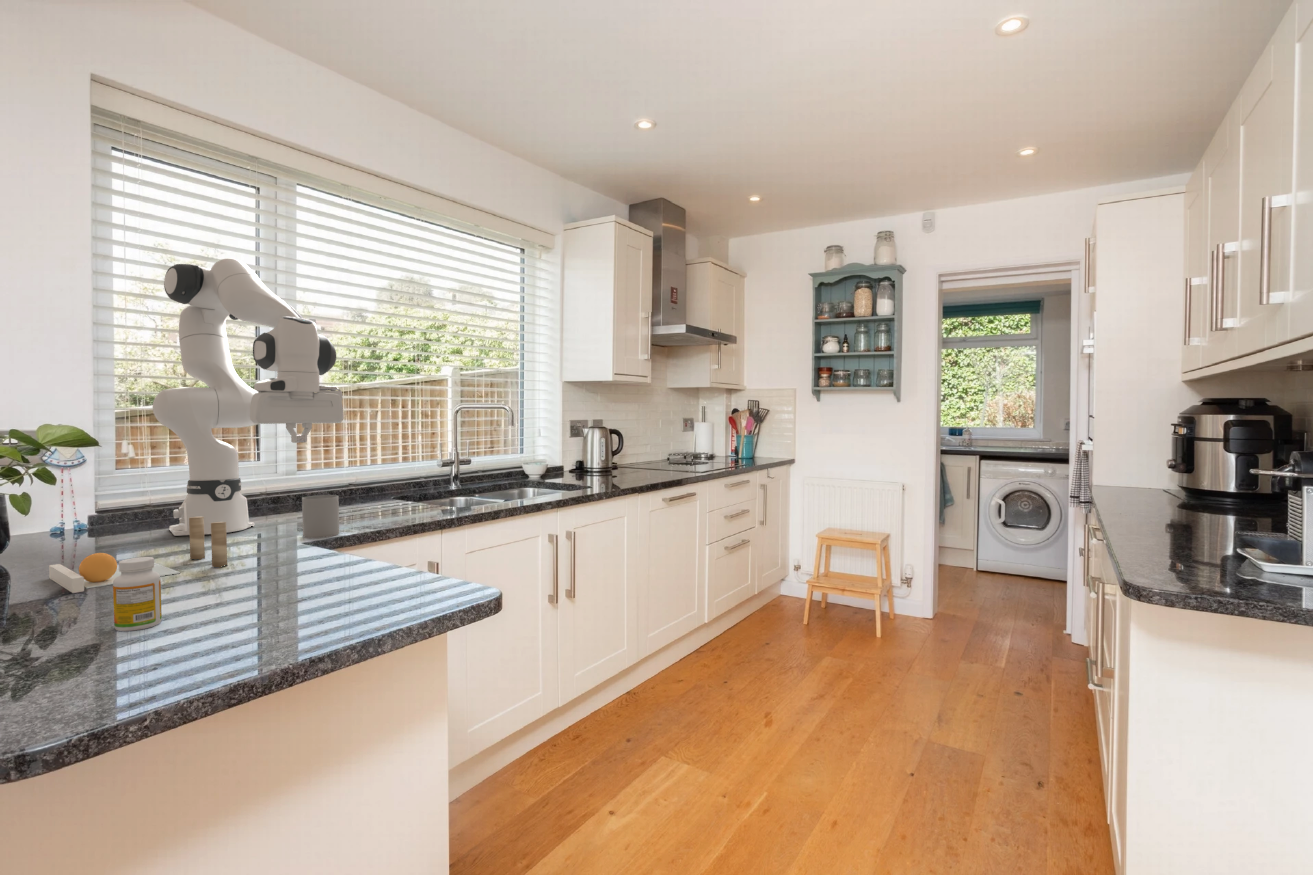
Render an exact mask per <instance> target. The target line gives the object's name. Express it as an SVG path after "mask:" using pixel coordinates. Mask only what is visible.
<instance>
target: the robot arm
mask: <svg viewBox="0 0 1313 875" xmlns="http://www.w3.org/2000/svg"><path fill="white" fill-rule="evenodd" d="M163 281H164V282H163V287H164V288H163V289H164V292H165V294H166V296H167V297H168V298H169V299H170V300H172V301H174V302H176V303H179V304H182V305H187V306H185V307H183V309H182V310H181V312H180V314H179V322H178V340H179V349H180V358H181V365H182V368H183V370H184V371H185V372H186V373H187V375H189V376H191V377H192V378H194V379H196V380H199V381H201V382H203V383H204V384H205V385H206V386H208V387H204V386H203V387H202V386H201V387H199V386H198V387H196V386H180V387H173V388H165V389H162V390H161V391H159V392H158V393H157V395H156V396H155V397H154V399H153V402H152V413H153V416H154V417H155V419H156V420H157V421H158V423H160V424H161V425H162V426H163V427H166V428H167V429H169V430H170V431H172V432H173V433H174V434H175V435H176V436H177V437H178V438H179V439H180V441H181V442H182V444H183V445H184V448H185V450H186V454H187V460H188V461H187V462H188V470H189V471H188V472H189V475H188V476H189V479H188V481H187V483H186V484H187V485H186V494H187V495H186V497H185V499H184V500H183V502H182V503H181V505H180V506H179V507H178V509H174V510H172V515H173V516H172V517H173V518H174V519H178V524H172V525H169V527H168V530H169V531H170V532H171V534H172V535H173V536H190V534H189V518H190V517H204V536H205V535H211V523H213V522H226V533H232V532H233V533H234V532H238V531H239V532H240V531H243V530H246V529H249V528H252V527H251V526H253V527H255V522H252V521H250V518H249V508H248V499H247V497H246V496H244V495H243V494H242V493H241V492H240V491H242V480H241V477H240V476H239V474H240V473H239V472H240V471H239V452H238V450H237V449H236V447H235V446H233V445H231V444H230V443H228V442H225V441H223V440H221V439H218V438H216V436H214V434H213V430H212V429H225V428H226V429H228V428H229V429H230V428H231V429H233V428H235V429H239V428H240V429H241V428H246V427H248V428H249V427H253V426H257V425H262V424H263V425H264V424H271V425H272V424H275V425H276V424H285V428H286V430H287V432H288V433H289V434H290V438H291V440H290V441H291V442H290V443H293V444H296V443H297V444H298V443H307V442H308V435H309V433H310V432H311V431H312V429H313V424H339V423H342V421H343V420H344V418H345V417H344V407H343V392H342V390H341V389H340V388H339V387H337V386H335V385H330V386H327V385H320V376H324V375H325V374H326V373H328V372H329V371H331V369H332V368H333V367H334V366H335V365H336V362H337V351H336V348H335V347H334V344H333V343H332V342H331V340H329V339H328V337H326V336H324V335H322V334H320V333H319V332H318V328H317V324H316V322H314V321H313V320H311V319H308V318H304V317H303V315H301V314H300V312H298V311H297V310H296V308H294V307H293V306H292V305H291V304H289V303H287V302H286V301H285V300H283V299H281V298H280V297H279V296H278V295H276V294H275V293H274V292H273V291H272V290H270V289H269V288H268V287H267V286H266V285H265V284H264V283H263V281H262V280H261V279H260V277H259V276H258V275H257V274H256V272H255V271H253V269H251V268H250V267H249V265H247V263H244V262H243V261H242V260H240V259H237V258H231V257H228V258H223V259H220V260H218V261H216V262H215V263H214V264H213V265H212V266H211V268H207V267H203V266H199V265H195V264H189V263H178V264H174V265H172V266H170V267H169V268H168V269H167V270H166V273H165V276H164V279H163ZM228 318H230V319H231V320H233V321H237V320H240V321H242V322H247V323H251V324H256V325H262V326H265V327H270V328H272V330H269V331H267V332H262V333H260V335H257V337H256V338H255V339H254V340H253V344H252V356H253V357H252V358H253V360H254V362H255V363H256V364H257V366H258V367H260V368H261V369H263V370H266V371H270V372H277V373H276V374H277V376H276V377H271V378H269V379H265V380H260V381H257V382H256V381H255V383H254V384H253V388H254V389H253V388H252V387H250V386H249V385H248V384H246V382H245V381H243V379H242V378H241V377H240V376H239V375H238V373H237V371H236V370H235V368H234V365H233V363H232V357H231V353H230V349H229V348H230V347H229V342H228V336H227V330H226V321H227V320H228ZM297 424H301V427H302V429H303V431H301V434H297V432H296V430H295V429H296V427H297Z"/></svg>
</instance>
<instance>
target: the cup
mask: <svg viewBox="0 0 1313 875" xmlns="http://www.w3.org/2000/svg"><path fill="white" fill-rule="evenodd" d="M339 498H340V496H339V495H335V494H321V495H309V496H304V497H301V501H302V502H301V509H302V510H301V511H302V512H301V513H302V537H303V538H305V539H306V538H308V539H319V538H329V537H335V536H339V534H340V514H339V513H340V504H339V501H340V500H339Z"/></svg>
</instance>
